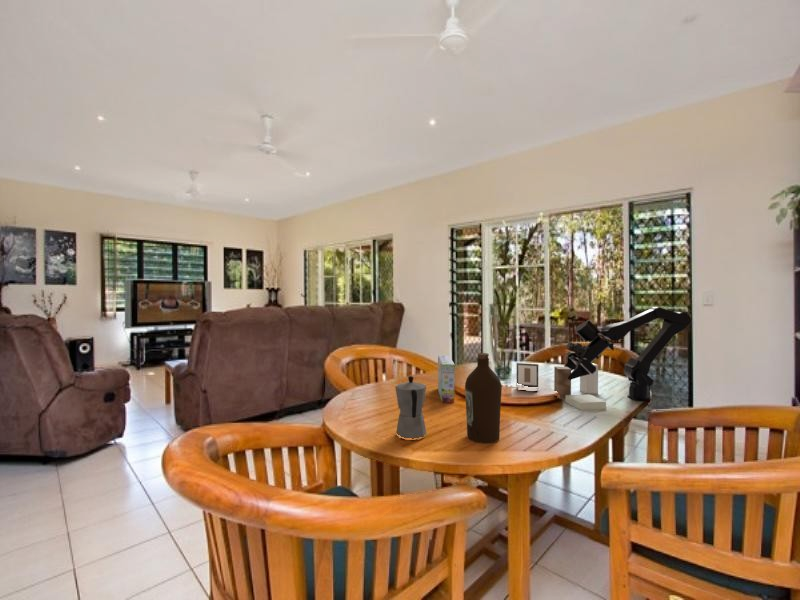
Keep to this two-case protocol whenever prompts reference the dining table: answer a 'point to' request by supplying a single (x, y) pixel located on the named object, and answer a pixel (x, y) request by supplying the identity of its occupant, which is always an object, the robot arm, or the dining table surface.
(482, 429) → the olive oil
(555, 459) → the dining table surface
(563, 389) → the walnut block
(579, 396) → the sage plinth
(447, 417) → the dining table surface
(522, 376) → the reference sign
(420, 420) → the coffeepot
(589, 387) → the grey block
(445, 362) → the snack box
